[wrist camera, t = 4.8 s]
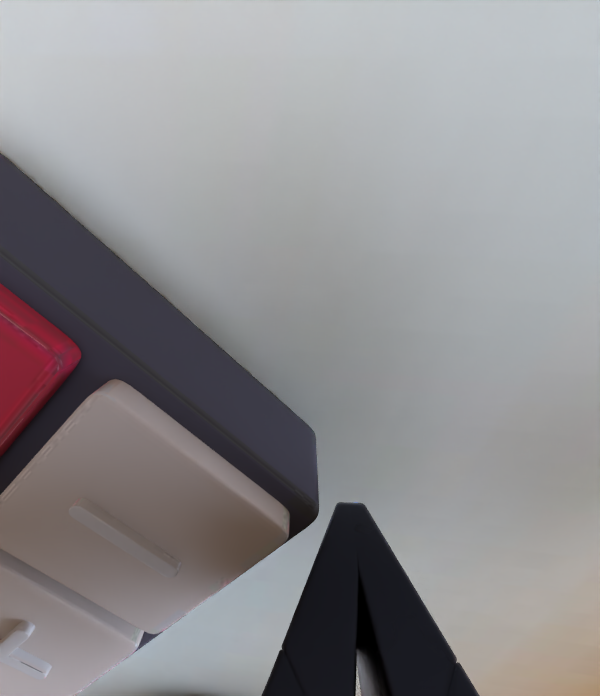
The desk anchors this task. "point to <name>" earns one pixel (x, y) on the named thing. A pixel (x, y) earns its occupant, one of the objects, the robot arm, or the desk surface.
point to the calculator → (120, 455)
